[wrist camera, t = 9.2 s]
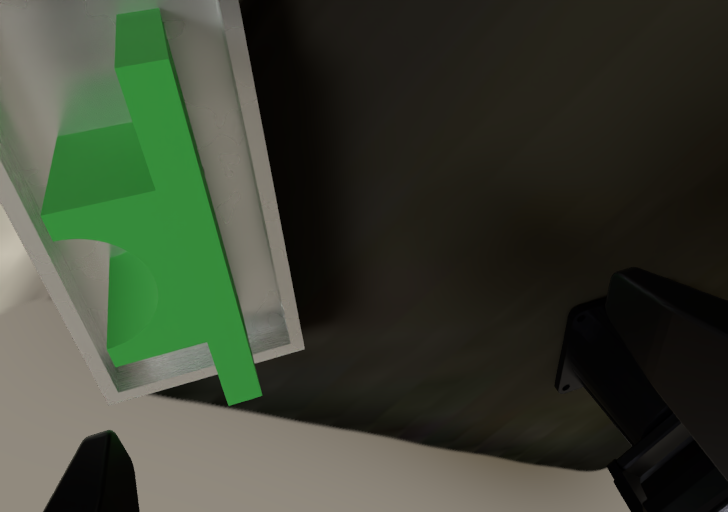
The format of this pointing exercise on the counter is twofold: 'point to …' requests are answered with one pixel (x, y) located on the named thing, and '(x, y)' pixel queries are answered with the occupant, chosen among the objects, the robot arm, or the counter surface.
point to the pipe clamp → (152, 217)
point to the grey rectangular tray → (108, 108)
